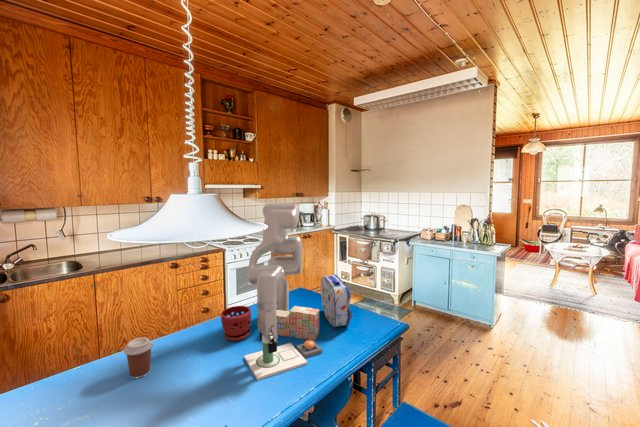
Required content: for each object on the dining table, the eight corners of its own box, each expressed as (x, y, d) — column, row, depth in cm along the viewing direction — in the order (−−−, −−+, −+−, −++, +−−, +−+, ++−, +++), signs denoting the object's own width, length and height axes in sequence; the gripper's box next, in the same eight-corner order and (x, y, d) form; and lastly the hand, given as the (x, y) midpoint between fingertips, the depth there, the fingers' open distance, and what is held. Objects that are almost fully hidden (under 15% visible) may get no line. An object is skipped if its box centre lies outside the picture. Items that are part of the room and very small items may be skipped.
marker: (261, 359, 121) (260, 334, 120) (271, 356, 123) (270, 332, 122) (264, 364, 117) (264, 339, 116) (275, 361, 120) (274, 336, 118)
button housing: (296, 348, 131) (296, 345, 131) (313, 343, 135) (313, 340, 135) (305, 358, 124) (305, 354, 124) (322, 352, 128) (322, 349, 128)
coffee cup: (123, 383, 108) (121, 351, 106) (127, 369, 116) (125, 338, 115) (153, 377, 112) (151, 345, 110) (154, 363, 120) (153, 333, 119)
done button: (302, 346, 130) (302, 341, 130) (311, 343, 132) (311, 339, 132) (307, 350, 126) (307, 346, 126) (315, 348, 128) (315, 343, 128)
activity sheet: (244, 357, 124) (244, 355, 124) (290, 345, 134) (290, 342, 134) (257, 380, 110) (257, 377, 110) (307, 364, 120) (307, 361, 120)
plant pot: (245, 326, 150) (245, 302, 149) (255, 338, 139) (255, 312, 138) (218, 333, 143) (217, 308, 142) (226, 346, 132) (225, 319, 131)
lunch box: (354, 330, 147) (355, 285, 145) (334, 333, 144) (334, 287, 142) (336, 307, 173) (337, 269, 171) (318, 309, 171) (318, 270, 168)
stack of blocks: (271, 334, 143) (270, 308, 142) (276, 328, 149) (276, 303, 148) (315, 341, 137) (315, 314, 136) (319, 334, 143) (319, 308, 142)
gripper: (250, 297, 124) (251, 338, 126) (265, 314, 109) (266, 360, 111) (268, 294, 127) (269, 333, 130) (285, 310, 112) (286, 354, 115)
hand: (268, 345), depth 120 cm, fingers open, 9 cm apart
